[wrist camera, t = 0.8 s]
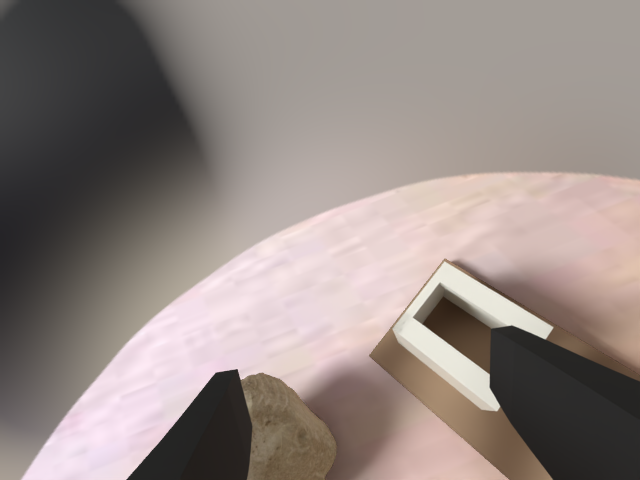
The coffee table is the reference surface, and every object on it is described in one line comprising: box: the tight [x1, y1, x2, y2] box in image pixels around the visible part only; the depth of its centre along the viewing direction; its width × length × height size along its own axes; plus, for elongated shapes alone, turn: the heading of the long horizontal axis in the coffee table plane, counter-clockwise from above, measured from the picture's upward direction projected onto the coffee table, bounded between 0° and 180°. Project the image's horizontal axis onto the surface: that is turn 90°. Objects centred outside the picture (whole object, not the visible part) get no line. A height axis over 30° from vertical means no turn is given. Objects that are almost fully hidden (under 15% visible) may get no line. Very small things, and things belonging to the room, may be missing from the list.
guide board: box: [369, 259, 640, 480], centre depth 16 cm, size 20×9×6 cm, turn 47°
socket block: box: [392, 261, 554, 411], centre depth 19 cm, size 6×5×5 cm
